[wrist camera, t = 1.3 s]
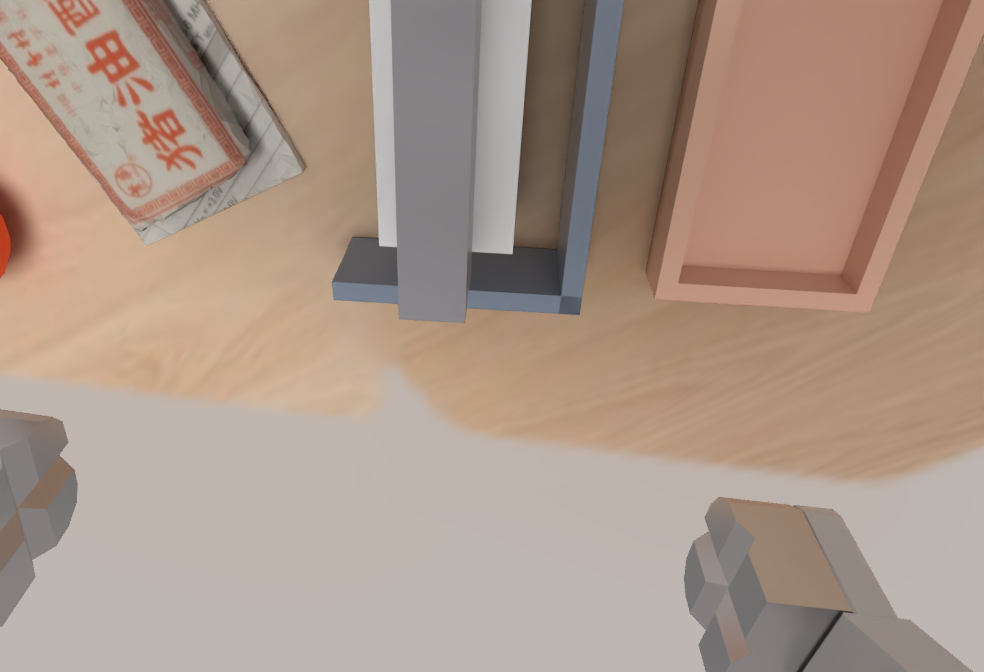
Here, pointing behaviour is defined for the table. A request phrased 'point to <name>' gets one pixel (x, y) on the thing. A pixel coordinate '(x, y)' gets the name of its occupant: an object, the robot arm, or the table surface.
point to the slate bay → (560, 273)
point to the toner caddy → (446, 140)
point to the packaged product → (149, 105)
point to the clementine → (4, 246)
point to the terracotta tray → (804, 146)
